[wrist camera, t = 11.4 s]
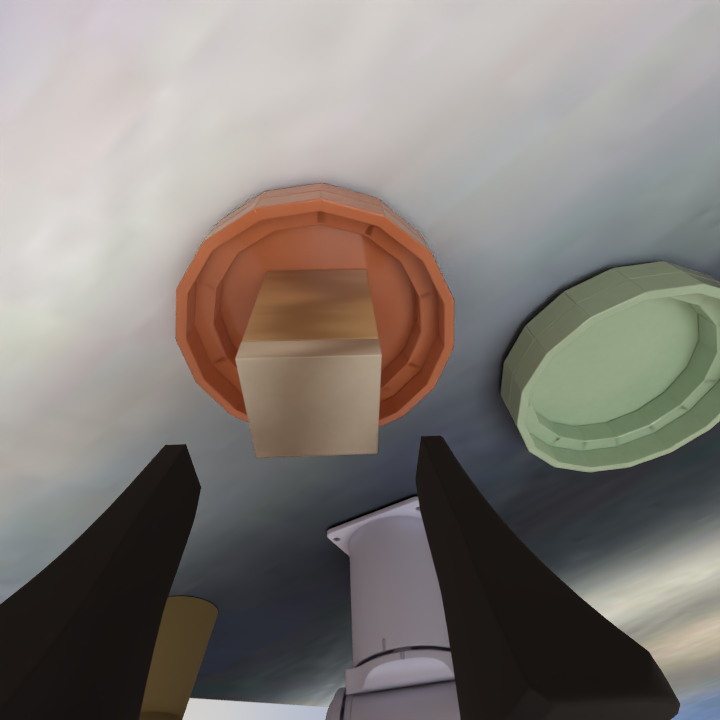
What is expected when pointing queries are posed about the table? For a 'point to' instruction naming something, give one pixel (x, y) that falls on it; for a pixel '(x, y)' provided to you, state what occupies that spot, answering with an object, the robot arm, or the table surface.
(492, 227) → the table surface
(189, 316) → the terracotta bowl
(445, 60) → the table surface
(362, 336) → the box
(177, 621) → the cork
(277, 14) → the table surface
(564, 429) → the celadon bowl
